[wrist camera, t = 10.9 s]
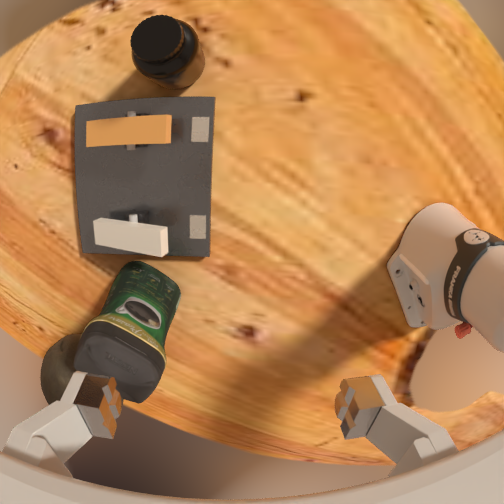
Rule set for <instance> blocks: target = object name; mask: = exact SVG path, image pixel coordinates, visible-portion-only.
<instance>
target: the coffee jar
mask: <svg viewBox="0 0 504 504" xmlns="http://www.w3.org/2000/svg"><path fill="white" fill-rule="evenodd" d="M180 297H181V292H180V289H179V287H178V285H177V284H176V283H175V282H174V281H173V280H171V279H170V278H169V277H167V276H166V275H165V274H163V273H162V272H160V271H159V270H157V269H155V268H154V267H152V266H150V265H148V264H146V263H144V262H141V261H131V262H129V263H127V264H126V265H125V266H124V267H123V268H122V269H121V271H120V272H119V274H118V275H117V277H116V279H115V281H114V283H113V285H112V287H111V290H110V292H109V295H108V298H107V300H106V302H105V305H104V307H103V309H102V311H101V313H100V315H99V316H97V317H95V318H94V319H92V320H91V321H90V322H89V323H88V324H87V326H86V327H85V329H84V331H83V333H82V335H81V337H80V340H79V343H78V347H77V351H76V354H75V358H74V368H75V369H76V370H77V371H80V372H86V373H92V374H98V375H104V376H110V377H114V378H115V381H116V384H117V385H116V388H115V389H116V390H117V391H118V392H119V393H120V396H121V398H123V399H126V400H129V401H132V402H136V403H142V402H143V401H144V400H146V399H147V398H148V397H149V396H150V395H151V394H152V392H153V391H154V390H155V388H156V386H157V385H158V383H159V381H160V379H161V376H162V374H163V372H164V370H165V367H166V354H165V349H164V345H165V339H166V336H167V332H168V330H169V327H170V324H171V322H172V320H173V317H174V315H175V313H176V310H177V308H178V305H179V302H180Z"/></svg>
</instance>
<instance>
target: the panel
mask: <svg viewBox="0 0 504 504" xmlns="http://www.w3.org/2000/svg"><path fill="white" fill-rule="evenodd" d="M129 111H136V116H148V115H172V121H171V143H166V144H135V150H127V145H109V146H94V147H86V124H87V121H93V120H101V119H110V118H121V117H127V116H128V112H129ZM214 115H215V97H160V98H142V99H128V100H117V101H107V102H98V103H91V104H83V105H76V107H75V175H76V193H77V206H78V217H79V226H80V235H81V243H82V250H83V253H102V254H133V255H147V254H142V253H137V252H132V251H127V250H122V249H117V248H112V247H107V246H102V245H97V244H95V235H94V225H93V221H94V220H97V219H99V218H107V219H114V220H122V221H129V215H130V214H137V217H138V223H144V224H151V225H158V226H165V227H167V230H168V253H167V254H165V255H166V256H201V257H210V226H211V185H212V157H213V135H214Z"/></svg>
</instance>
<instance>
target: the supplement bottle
mask: <svg viewBox="0 0 504 504" xmlns="http://www.w3.org/2000/svg"><path fill="white" fill-rule="evenodd" d="M131 47H132V60H133V63H134V65H135V66H136V68H137V69H138V70H139V71H140V72H141V73H142V74H143V75H145V76H146V77H148V78H149V79H151V80H152V81H154V82H155V83H157V84H158V85H160V86H162V87H164V88H167V89H182V88H185V87H187V86H189V85H191V84H193V83H194V82H195V81H196V80H197V79H198V78H199V77H200V75H201V74H202V72H203V69H204V65H205V58H204V54H203V51H202V48H201V45H200V42H199V39H198V36H197V34H196V32H195V31H194V29H193V28H192V27H191V26H190V25H189V24H187V23H186V22H184V21H181V20H178V19H174V18H172V17H169V16H167V15H165V16H164V15H156V16H152V17H150V18H147V19H146V20H144V21H142V22H141V23H140V24H139V25H138V26H137V27H136V28H135V30H134V31H133V35H132V36H131Z"/></svg>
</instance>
